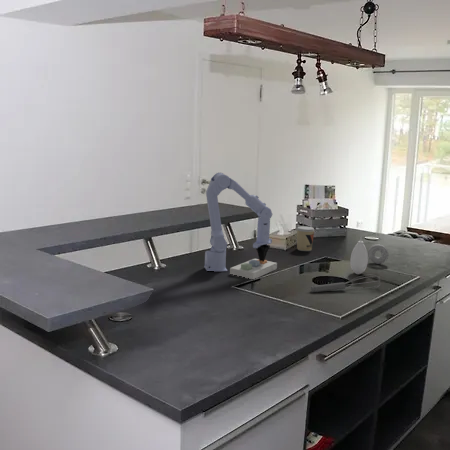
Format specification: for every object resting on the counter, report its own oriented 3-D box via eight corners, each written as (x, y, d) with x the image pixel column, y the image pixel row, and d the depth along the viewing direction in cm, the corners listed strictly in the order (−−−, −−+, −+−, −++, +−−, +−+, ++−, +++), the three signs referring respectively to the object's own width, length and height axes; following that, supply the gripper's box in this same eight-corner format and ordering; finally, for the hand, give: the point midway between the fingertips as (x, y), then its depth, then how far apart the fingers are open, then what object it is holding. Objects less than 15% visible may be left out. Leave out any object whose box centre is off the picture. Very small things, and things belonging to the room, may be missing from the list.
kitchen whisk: (303, 290, 224) (304, 275, 223) (375, 286, 234) (376, 272, 233) (310, 295, 219) (311, 280, 217) (383, 291, 228) (384, 276, 227)
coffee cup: (307, 252, 288) (309, 230, 286) (292, 249, 294) (293, 227, 291) (316, 249, 295) (317, 227, 293) (301, 246, 301) (302, 225, 299)
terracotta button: (262, 267, 251) (263, 261, 251) (256, 266, 253) (256, 260, 252) (266, 266, 254) (267, 260, 254) (260, 265, 256) (260, 258, 255)
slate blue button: (255, 269, 245) (255, 262, 245) (248, 267, 247) (248, 261, 246) (259, 267, 248) (259, 261, 248) (252, 265, 250) (252, 259, 249)
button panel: (253, 279, 236) (253, 273, 235) (229, 274, 242) (230, 268, 242) (276, 269, 254) (277, 262, 253) (254, 264, 260) (254, 258, 260)
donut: (366, 263, 271) (368, 243, 269) (367, 261, 274) (369, 242, 272) (386, 266, 267) (388, 246, 265) (388, 264, 270) (390, 244, 268)
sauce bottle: (366, 276, 247) (370, 238, 243) (349, 275, 248) (352, 236, 245) (366, 272, 254) (369, 234, 251) (349, 270, 256) (352, 233, 252)
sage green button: (247, 272, 239) (247, 265, 239) (240, 270, 241) (240, 264, 241) (251, 270, 242) (252, 264, 242) (244, 269, 244) (245, 262, 244)
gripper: (263, 235, 242) (261, 265, 245) (278, 230, 254) (276, 258, 257) (249, 233, 246) (248, 262, 249) (265, 228, 258) (263, 256, 261)
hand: (261, 260), depth 253 cm, fingers closed, pressing on terracotta button
